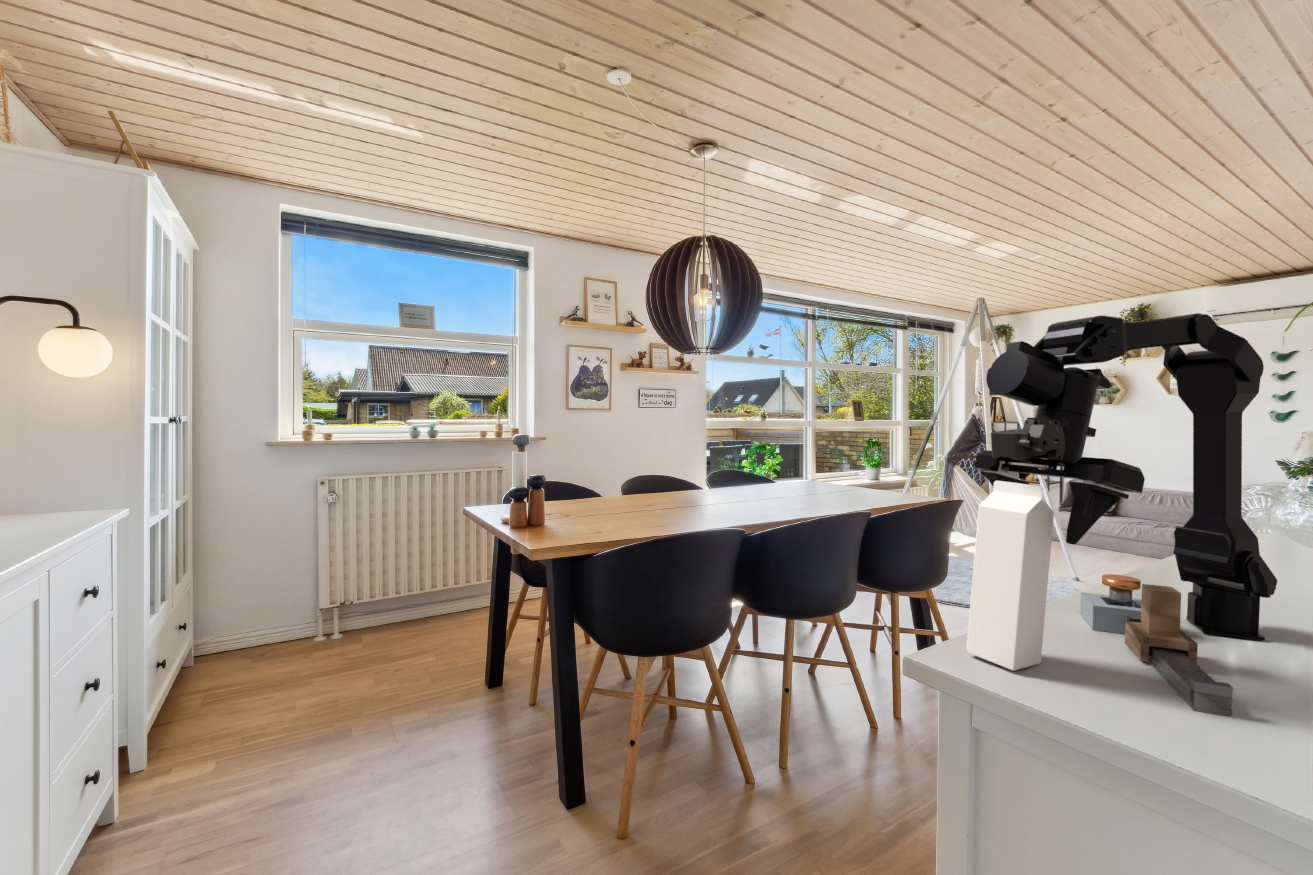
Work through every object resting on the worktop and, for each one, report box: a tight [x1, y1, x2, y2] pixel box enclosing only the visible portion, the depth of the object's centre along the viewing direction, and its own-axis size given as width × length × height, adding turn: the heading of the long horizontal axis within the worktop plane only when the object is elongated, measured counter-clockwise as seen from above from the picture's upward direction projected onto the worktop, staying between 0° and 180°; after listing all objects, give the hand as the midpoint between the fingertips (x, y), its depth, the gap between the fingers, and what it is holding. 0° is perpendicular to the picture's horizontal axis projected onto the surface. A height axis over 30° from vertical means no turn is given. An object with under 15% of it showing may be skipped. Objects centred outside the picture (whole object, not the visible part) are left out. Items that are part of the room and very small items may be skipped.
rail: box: [1127, 616, 1234, 717], centre depth 70 cm, size 3×22×3 cm, turn 156°
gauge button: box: [1101, 573, 1142, 607], centre depth 85 cm, size 4×4×4 cm
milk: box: [966, 481, 1055, 672], centre depth 73 cm, size 6×6×22 cm
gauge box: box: [1080, 591, 1142, 635], centre depth 85 cm, size 8×7×4 cm
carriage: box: [1124, 583, 1199, 665], centre depth 74 cm, size 5×6×8 cm
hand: (1035, 536), depth 73 cm, fingers open, 9 cm apart
